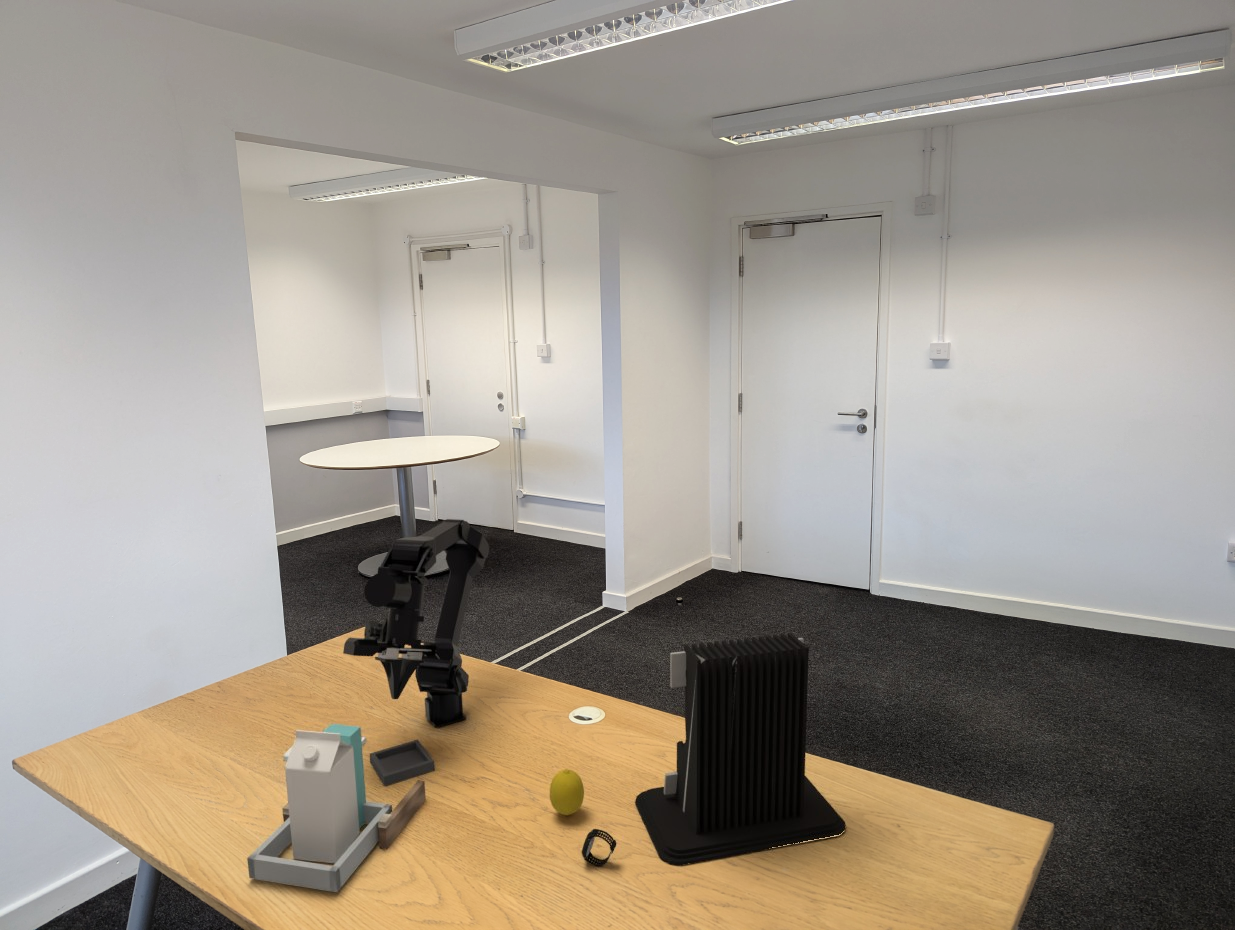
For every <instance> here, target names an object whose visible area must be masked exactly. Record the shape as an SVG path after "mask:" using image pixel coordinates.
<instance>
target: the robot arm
mask: <svg viewBox="0 0 1235 930" xmlns="http://www.w3.org/2000/svg"><path fill="white" fill-rule="evenodd" d="M442 552H444V553H445V554H446V555H445V561H446V564H447V568H448V570H449V577H448V580H447V585H446V589H445V593H444V597H443V601H442V605H441V610H440V614H439V619H438V621H437V626H436V630H435V634H434V638H433V640H432V641H427V640H424V643H423V644H422V639H420V638H419V636H420V629H421V623H424V620H425V619H424V618H425V616H424V615H423V616H422V612H423V605H424V594H425V587H426V586H429V584H430V582H429V580H428V578H426V576H425V574H427V573H428V572H429V571H430V569H431V568H433V566H434V565H435V564H436V563H437V556H438V555H440V554H442ZM489 553H490V546H489V542H488V540H487V539H486V537H485V536H484V535H483V533H481V532H480V531H478V530H477V529H475V528H473V527H472V526H471V525H470V524H469V522H468V521H467V520H464V519H455V518H454V519H453V518H446V519H443V520H442V521H441V522H440V523H439V524H438V525H436V526H434V527H432V528H431V529H429V530H427V531H426V532H423V533H422V534H420V535H419V536H409V537H407V536H406V537H402V538H397V539H395V540H394V541H393V542H392V544H391V545H390V547H389V549H388V551H387V553H386V554H385V557H384V559H383V560H382V562H381V564H380V566H378V568H377V573H376V574H374V575H371V577H370V578H369V579H368V580H367V582H366V584H365V585H364V592H363V593H364V596H365V599H366V601H367V602H368V603H369V604H370V606H372V607H375V608H387V609H388V613H385V616H384V621H383V623H380V622H379V621H377V620H367V621H366V622H365V626H364V634H363V635H364V636H363V637H348V638H346V640H345V642H344V644H343V645H344V646H343V652H342V653H343V654H345V655H349V656H354V657H374V660H375V661H379V662H380V663H381V665H382V666H383V668H384V672H385V675H386V679H387V683H388V687H389V694H390V697H391V699H392V700H398V699H400V697H401V694H402V693H403V691H404V689H405V688H406V686H407V684H408V682H409V680H410V679H411V677H412V676H413V674H414V675H415V676H414V677H415V680H416V682H417V683H416V684H417V687H418V689H419V693H426V697H425V698H424V710H425V711H424V712H425V713H424V714H425V718H426V719H427V721H429V722H430V723H431V724H432V725H433V726H434V728H440V727H444V726H448V725H451V724H454V723H459V722H462V721H465V720H466V719H467V716H466V714H464V712H463V711H464V709H463V707H464V706H463V693H467V691H468V685H469V682H470V681H469V678H470V676H469V674H468V673H467V672H466V670H464V668H462V664H463V658H462V656H461V653H460V650H459V646H458V645H459V642H460V637H461V632H462V628H463V622H464V619H465V614H466V609H467V606H468V601H469V597H470V593H471V592H470V591H471V589H472V588H471V587H472V585H473V584H472V583H473V580H474V578H476V576H477V575H478V574H479V573H480V572H481V571H482V570H483V569H484V566H485V562H486V559H487V558H488V557H489ZM406 646H409V647H406ZM376 654H377V656H375V655H376ZM400 655H401V656H400ZM414 672H415V673H414Z"/></svg>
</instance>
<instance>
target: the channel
mask: <svg viewBox="0 0 1235 930" xmlns="http://www.w3.org/2000/svg"><path fill="white" fill-rule="evenodd" d="M425 785H426V783H425V780H421V779H418V780H417V781H416V782H414V785H413V786H411V788H410V789H408V791H407V793H405V795H404V796H403V797H402V798H401V800H399V802H398V803H397V804H396V805H395V807H394V808H392V812H391V813H390V814H384V815H383V816H382V817H381V819H380V820H379V821H378V827H379V841H378V842H379V849H384V850H388V849H389V847H391V846H392V844H393V842H394V841H395V840H396V839H397V837H398V836H399V835H400V833H402V831H403V830H404V828H405V827H406V826H407V824H409V822H410V821H411V819H412V818H413V817H414V816H415V815H416V813H417V812H418V811H419V810H420V808H421V806H422V805H424V803H425V801H426V800H427V798H426V786H425ZM282 816H283V817H282V819H283V823H284V822H285V821H286V820H287V819H288V818H289V807H288V802H287V803H286V804H285V805H284V806H283V807H282Z"/></svg>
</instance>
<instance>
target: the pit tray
mask: <svg viewBox="0 0 1235 930" xmlns="http://www.w3.org/2000/svg"><path fill="white" fill-rule="evenodd" d="M369 761H370V762H369V763H370V765H371V766H372V768H373V770H374V771H375V773H376V775H377V777H378V778H379V780H380V781H381V783H382V784H383V786H384V787H387V786H389V785H392V784H396V783H399V782H402V781H406V780H409V779H412V778H416V777H418V776H423V775H425V774H428V773H431V772H434V771H436V768H435V767H436V766H435V760H434V759H433V758H432V756H431V755H430V753H429V752H428V751H427V749H426V748H425V747H424V746H423V745H422V743H421V741H420V740H419V739H414V740H412V741H408V742H404V743H401V744H399V745H393V746H391V747H388V748H383V749H380V750H377V751H373V752H371V753H370V752H369Z"/></svg>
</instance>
